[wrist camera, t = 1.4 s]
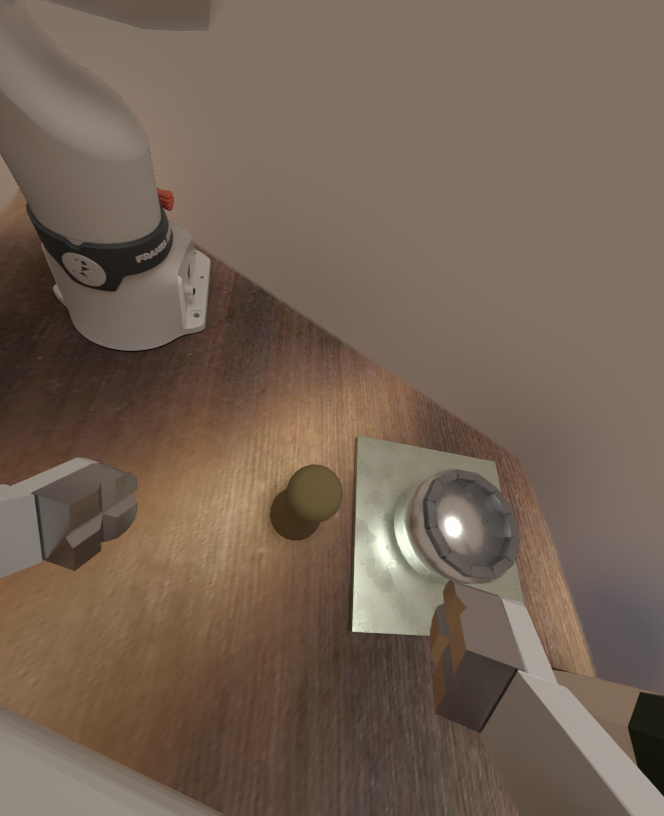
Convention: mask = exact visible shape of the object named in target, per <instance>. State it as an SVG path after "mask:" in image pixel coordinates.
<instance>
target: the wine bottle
mask: <svg viewBox="0 0 664 816" xmlns="http://www.w3.org/2000/svg"><path fill="white" fill-rule="evenodd" d="M551 668H552V667H551ZM552 671H553V673H554V675H555V678H556V680H557V683H558V685H561V686H564V687H566V688H568V689H569V691H570V692H571V693H572V694H573V695H574V696H575V697H576V698H577V700H578V701H579V702H580V703H581V704H582V705H583V706H584V707H585V709H586V710H587V711H588V712H589V713H590V714H591V715H592V717H593V718H594V719H595V720H596V721H597V722H598V723H599V724H600V726H601V727H602V728H603V729H604V730H605V731H606V732H607V733H608V735H609V736H610V737H611V738H612V739H613V740H614V741H615V742H616V744H617V745H618V746H619V747H620V748H621V749H622V750H623V751H624V753H625V754H626V755H627V756H628V757H629V758H630V759H631V760H632V762H633V763H634V764H635V765H636V766H637V767H638V768H639V769H640V771H641V772H642V773H643V774H644V775H645V776H646V777H647V778H648V780H649V781H650V782H651V783H652V784H653V785H654V786H655V787H656V789H657V790H658V791H659V792H660V793H661V794H662V795H663V796H664V695H661V694H657V693H653V692H649V691H645V690H641V689H637V688H633V687H629V686H625V685H621V684H617V683H613V682H609V681H605V680H601V679H596V678H592V677H588V676H584V675H580V674H576V673H572V672H568V671H564V670H560V669H556V668H552Z"/></svg>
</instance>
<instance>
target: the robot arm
mask: <svg viewBox="0 0 664 816" xmlns="http://www.w3.org/2000/svg"><path fill="white" fill-rule="evenodd" d="M45 1H48V2H51V3H55V4H59V5H62V6H66V7H69V8H72V9H76V10H79V11H83V12H86V13H89V14H93V15H96V16H100V17H103V18H107V19H110V20H114V21H117V22H121V23H124V24H127V25H131V26H134V27H138V28H141V29H152V30H167V31H168V30H169V31H207V30H209V29H210V28H211V27H212V26H213V24H214V23H215V22H216V21H217V19H218V18H219V16H220V15H221V13H222V11H223V9H224V7H225V5H226V3H227V1H228V0H45ZM0 154H1V156H2V158H3V160H4V161H5V163H6V165H7V166H8V168H9V170H10V172H11V173H12V175H13V177H14V179H15V180H16V182H17V184H18V186H19V188H20V189H21V191H22V193H23V195H24V197H25V199H26V201H27V205H26V207H27V213H28V215H29V218H30V220H31V222H32V227H33V229H34V231H35V233H36V234H38V236H39V238H40V240H41V242H42V249H43V252H44V254H45V257H46V259H47V262H48V264H49V267H50V269H51V271H52V274H53V276H54V279H55V281H56V283H57V284H55V285H54V287H53V291H54V293H55V296H56V297H57V299H58V300H59V301H60V302H61V303H62V304H64V305H65V306H66V307H67V308H68V310H69V314H70V317H71V320H72V322H73V324H74V326H75V327H76V329H77V330H78V331H79V332H80V333H81V334H82V335H83V336H84V337H86V338H87V339H89V340H90V341H92V342H94V343H96V344H99V345H101V346H104V347H108V348H112V349H117V350H128V351H136V350H146V349H151V348H155V347H159V346H162V345H164V344H167V343H169V342H171V341H172V340H174V339H176V338H178V337H180V336H182V335H186V334H191V333H196V332H200V331H202V330H203V329H204V328H205V326H206V317H207V306H208V295H209V283H210V272H211V263H210V259H209V258H208V257H207V256H205V255H204V254H203V253H201V252H199V251H198V250H196V249H194V244H193V239H192V236H191V235H190V234H189V233H188V232H187V231H186V230H185V229H184V228H182V227H180V226H179V225H177V224H175V223H173V222H171V221H169V220H168V219H167V217H166V214H165V212H164V210H163V208H164V209H166V210H169V211H171V210H172V208H173V204H174V200H173V199H174V197H173V194H172V192H170V191H166V190H161V189H159V188H157V187H156V181H155V175H154V170H153V164H152V158H151V152H150V147H149V141H148V137H147V134H146V132H145V130H144V128H143V125H142V123H141V122H140V120H139V118H138V117H137V115H136V114H135V112H134V111H133V110H132V108H131V107H130V106H129V104H128V103H127V102H126V101H125V100H124V99H123V98H122V96H121V95H120V94H119V93H118V92H117V91H116V90H115V89H113V88H112V87H111V86H110V85H109V84H108V83H107V82H106V81H104V80H103V79H102V78H100V77H99V76H98V75H96V74H95V73H93V72H92V71H90V70H89V69H88V68H86V67H85V66H83V65H82V64H80V63H79V62H78V61H76V60H75V59H74V58H72V57H71V56H70V55H69V54H68V53H66V52H65V51H64V50H63V49H62V48H61V47H60V46H59V45H58V44H57V43H56V42H55V41H54V40H53V39H52V37H51V36H50V35H49V34H48V33H47V32H46V31H45V29H44V28H43V27H42V26H41V24H40V23H39V22H38V20H37V19H36V18H35V16H34V15H33V13H32V12H31V10H30V8H29V7H28V5H27V3H26V2H25V0H0ZM196 317H198V318H196ZM136 490H137V478H136V477H135V476H133V475H132V474H130V473H127V472H125V471H122V470H119V469H116V468H114V467H111V466H108V465H105V464H103V463H98V462H96V461H93V460H90V459H88V458H75V459H73V460H70V461H68V462H66V463H63V464H61V465H59V466H56V467H54V468H52V469H49V470H47V471H45V472H42V473H40V474H38V475H35V476H33V477H31V478H28V479H26V480H24V481H21V482H19V483H17V484H14V485H12V486H9V485H6V484H4V485H0V578H3V577H6V576H8V575H11V574H13V573H16V572H18V571H21V570H23V569H26V568H28V567H31V566H34V565H36V564H39V563H41V562H43V560H45V561H48V562H51V563H54V564H56V565H59V566H62V567H65V568H68V569H71V570H73V571H75V570H77V569H78V568H79V567H80V566H82V565H83V564H84V563H86V562H87V561H88V560H90V559H91V558H92V557H93V556H95V555H96V554H97V553H99V552H100V551H101V549H102V546H103V543H104V542H107V541H110V540H113V539H116V538H118V537H119V536H120V535H122V534H123V533H124V532H125V531H127V529H128V528H129V527H130V525H131V524H132V522H133V521H134V519H135V516H136V513H137V502H136V500H135V498H134V496H133V495H132V494H133V493H134V492H135V491H136ZM443 599H444V603H443V604H441V605H439V606H437V607H436V609H435V612H434V615H433V617H432V623H431V628H430V654H431V656H432V658H433V659H434V661H435V663H436V664H437V666H436V668H435V670H434V673H433V675H432V684H433V697H434V709H435V714H436V715H438V716H441V717H443V718H445V719H448V720H450V721H452V722H455V723H457V724H459V725H462V726H464V727H466V728H469V729H471V730H473V731H476V732H478V733H480V738H481V740H482V742H483V744H484V746H485V748H486V750H487V752H488V754H489V756H490V758H491V760H492V762H493V764H494V766H495V768H496V770H497V772H498V774H499V776H500V778H501V780H502V782H503V784H504V786H505V787H506V789H507V791H508V793H509V795H510V797H511V799H512V801H513V803H514V805H515V807H516V809H517V811H518V813H519V815H520V816H664V796H663V795H662V794H661V793H660V792H659V791H658V790H657V789H656V787H655V786H654V785H653V784H652V783H651V782H650V781H649V780H648V778H647V777H646V776H645V775H644V774H643V773H642V772H641V771H640V769H639V768H638V767H637V766H636V765H635V764H634V763H633V762H632V760H631V759H630V758H629V757H628V756H627V755H626V754H625V753H624V751H623V750H622V749H621V748H620V747H619V746H618V745H617V744H616V742H615V741H614V740H613V739H612V738H611V737H610V736H609V735H608V733H607V732H606V731H605V730H604V729H603V728H602V727H601V726H600V724H599V723H598V722H597V721H596V720H595V719H594V718H593V717H592V715H591V714H590V713H589V712H588V711H587V710H586V709H585V707H584V706H583V705H582V704H581V703H580V702H579V701H578V700H577V698H576V697H575V696H574V695H573V694H572V693H571V692H570V691H569V689H568V688H566V687H564V686H561V685H558V683H557V680H556V678H555V675H554V673H553V671H552V668H551V666H550V664H549V661H548V659H547V656H546V654H545V652H544V649H543V647H542V644H541V642H540V640H539V637H538V635H537V633H536V630H535V628H534V625H533V623H532V621H531V618H530V616H529V614H528V611H527V609H526V607H525V606H524V604H523V603H522V602H520V601H517V600H514V599H510V598H507V597H504V596H501V595H495V594H493V593H490V592H487V591H484V590H481V589H477V588H474V587H471V586H468V585H465V584H462V583H459V582H456V581H453V580H449V581H448V582H447V584H446V586H445V588H444V590H443ZM0 816H226V815H224V814H222V813H220V812H218V811H216V810H214V809H212V808H210V807H208V806H206V805H204V804H202V803H200V802H198V801H196V800H194V799H192V798H190V797H188V796H186V795H184V794H182V793H180V792H178V791H176V790H174V789H172V788H170V787H168V786H166V785H164V784H162V783H160V782H158V781H156V780H153V779H151V778H149V777H147V776H145V775H143V774H141V773H139V772H137V771H135V770H133V769H131V768H129V767H127V766H125V765H123V764H121V763H119V762H117V761H115V760H113V759H111V758H109V757H107V756H105V755H103V754H101V753H99V752H97V751H95V750H93V749H91V748H89V747H87V746H85V745H82V744H80V743H78V742H76V741H74V740H72V739H70V738H68V737H66V736H64V735H62V734H60V733H58V732H56V731H54V730H52V729H50V728H48V727H46V726H44V725H42V724H40V723H38V722H36V721H34V720H32V719H30V718H28V717H26V716H24V715H22V714H20V713H18V712H16V711H14V710H12V709H9V708H7V707H5V706H3V705H1V704H0Z"/></svg>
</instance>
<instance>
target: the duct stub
mask: <svg viewBox="0 0 664 816" xmlns="http://www.w3.org/2000/svg"><path fill="white" fill-rule="evenodd" d="M519 540H520V538H519V534H518V529H517V525H516V520H515V516H514V513H513V511H512V509H511V507H510V506H509V504H508V503H507V501H506V500H505V498H504V497H503V495H502V493H501V489H500V484H499V479H498V475H497V470H496V465H495V462H493V461H488V460H483V459H477V458H472V457H467V456H462V455H457V454H452V453H446V452H441V451H436V450H431V449H426V448H420V447H415V446H410V445H405V444H400V443H395V442H389V441H384V440H379V439H374V438H369V437H364V436H357V437H356V440H355V470H354V500H353V530H352V560H351V590H350V620H349V630H350V631H353V632H371V633H389V634H407V635H424V636H430V628H431V623H432V617H433V615H434V612H435V609H436V607H437V606H439V605H441V604H443V603H444V599H443V590H444V588H445V586H446V584H447V582H448V581H449V580H453V581H456V582H459V583H462V584H465V585H468V586H471V587H474V588H477V589H481V590H484V591H487V592H490V593H493V594H495V595H501V596H504V597H507V598H510V599H514V600H517V601H520V602H522V603H523V604H524V600H523V595H522V591H521V586H520V581H519V576H518V571H517V566H516V562H515V559H516V554H517V550H518V546H519V542H520V541H519ZM524 606H525V605H524Z"/></svg>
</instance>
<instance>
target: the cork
mask: <svg viewBox="0 0 664 816" xmlns="http://www.w3.org/2000/svg"><path fill="white" fill-rule="evenodd" d="M342 496H343V493H342V485H341V483H340V480H339V478H338V477H337V476H336V474H335V473H334V472H333V471H331V470H330V469H329V468H327V467H324V466H322V465H309V466H305V467H302V468H301V469H299V470H298V471H296V472H295V474H294V475H293V476H292V477H291V479H290V481H289V484H288V486H287V489H285V490H284V491H282V492H281V493H279V494H278V496H277V497H276V498H275V499H274V501H273V504H272V506H271V514H270V517H271V521H272V525H273V527H274V528H275V530H276V531H277V532H278V533H279V534H280V535H281V536H283V537H284V538H287V539H290V540H302V539H305V538H307V537H309V536H310V535H311V534H313V533H314V532H315V530H316V529H317V527H318V526H319V524H320V522H322V521H325V520H327V519H329V518H330V517H331V516H333V515H334V514H335V513H336V512H337V510H338V508H339V507H340V504H341V500H342Z"/></svg>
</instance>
